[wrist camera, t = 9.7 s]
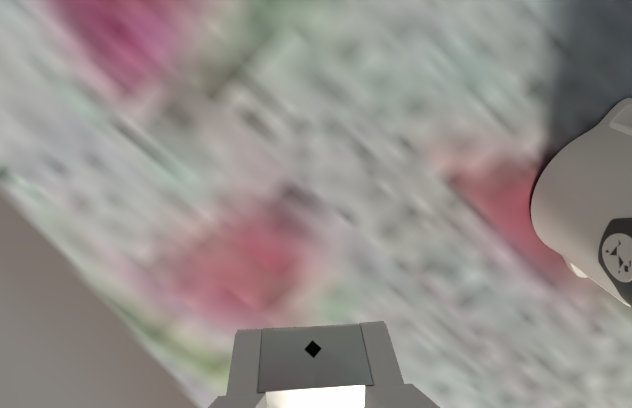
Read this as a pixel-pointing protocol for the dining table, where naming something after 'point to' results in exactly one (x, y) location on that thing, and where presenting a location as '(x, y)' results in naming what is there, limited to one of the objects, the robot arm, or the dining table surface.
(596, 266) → the robot arm
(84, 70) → the dining table surface
